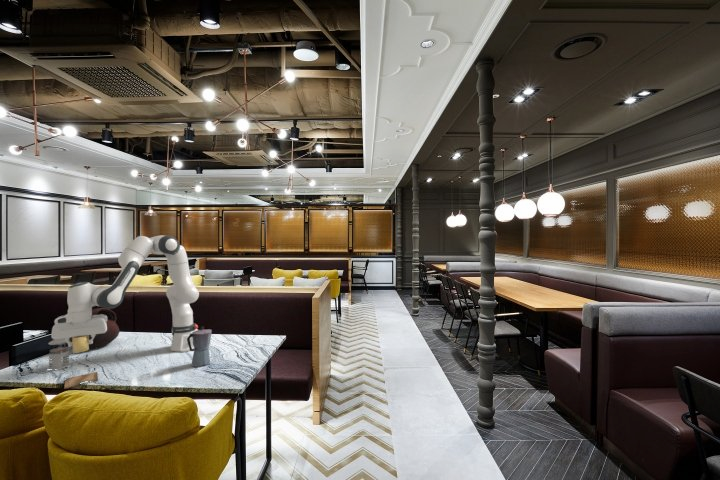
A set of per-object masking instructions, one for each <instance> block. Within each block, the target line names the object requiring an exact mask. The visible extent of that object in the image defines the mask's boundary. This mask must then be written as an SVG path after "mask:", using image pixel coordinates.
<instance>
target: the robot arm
mask: <svg viewBox="0 0 720 480" xmlns="http://www.w3.org/2000/svg"><path fill="white" fill-rule="evenodd" d="M150 254H152V255H164V256H165V257H166V261H167V270H168V276H169V278H170V280H171V282H172V283H173V284H172V285H170V286H168V287H167V289H166V291H165V295H166V297H167V299H168V302H169V305H170V308H171V314H172V317H171V318H172V325H171V336H172V339H171V343H170V344H171V345H170V351H172V352H181V353H185V352H191V351H190V349H189V345H188V342H187V338H188V337H189V335H190V334H192V332H194V331H197V330H199V329H198V328H199V326H198V324H196V323H194V316H193V315H194V312H193V309H192V307H191V305H190V304H193V303H196V301H197V300H198V299H199V297H200V292H199V290H198V289H197V287H196V286H195V283H194V281H193V279H192V276H191V272H190V265H189V259H188V254H187V252H186V249H185V247H184V246H183V245H181V244H180V243H179V241H178V240H177V238H176V237H174V236H172V235H162V234H161V235H155V236H154V235H153V236H150V237H148V236H145V235H138V236H137V237H136V238H134V239H133V240H132V241H131V242H129V244H128V245H127V246H125V248H124V249H123V250H122V252H121V253H120V255H119V256H118V259H117V260H118V264H119V266H120V267H121V271H120V273H119V275H117V278H116V279H115V281H114V282H113V283H112V284H111V286H108V287H106V286H99V285H96V284H92V283H90V282H89V281H82V282H76V283H74V284H71V285H70V286H69V287H68V290H67V298H66V299H67V300H66V301H67V306H68V309H67V313H66V314H63V315H61V316H58V317H57V318H55V319H54V321H53V322H54V325H53V326H52V328H51V335H50V336H51V339H52V340H55V339H62V338H65V341H66V344H67V347H68V348H71V347H72V342H70V341H69V339H70V337H78V336H86V335H91V337H92V339H91V340H89V341H88V342H89V343H88V344H92V343H93V339H94V337H95V336H96V334H101V333H105V332H106V331H107V324H106V322H107V319H108V316H107V315H106V314H103V313H100V314H96V315H92V309H93V307H96V306H97V307H99V308H105V309H110V310H112V309H113V310H114V309H115V308H117V307H119V306H120V305H121V304H122V302H123V301H124V298H125V293H126V291H127V290H128V288H129V286H130V284H132V282H133V280H134V279H135V277H136V276H137V274H138V272H139V269H140V267H142V265H143V263H144V262H145V260H147V258H148V256H150ZM190 344H191V348H192V349H194V346H193V337H190ZM211 345H212V342H211V341H210V345H209V347H210V346H211ZM72 348H73V347H72Z"/></svg>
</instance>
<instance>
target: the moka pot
mask: <svg viewBox="0 0 720 480" xmlns="http://www.w3.org/2000/svg"><path fill="white" fill-rule="evenodd" d="M204 328H205V327H204V326H200V329H198V330H197V331H194V332H192V334H190V335H189V337H188V338H187V342H188V345H189V349H190V351H189V352H193V354H192V355H193V356H192V359H191V360H192V361H191V366H193V367H204V366H207V365H210V364H211V363H210V362H211V359H210V358H211V357H210V348H209V347H210V346H211V345H210V342H211V340H212V332H213V330H212V329H204ZM190 337H193V346H194V349H192V348H191V344H190ZM209 345H210V346H209Z"/></svg>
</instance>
